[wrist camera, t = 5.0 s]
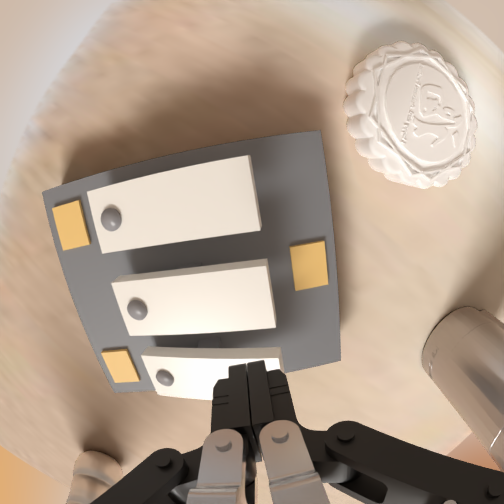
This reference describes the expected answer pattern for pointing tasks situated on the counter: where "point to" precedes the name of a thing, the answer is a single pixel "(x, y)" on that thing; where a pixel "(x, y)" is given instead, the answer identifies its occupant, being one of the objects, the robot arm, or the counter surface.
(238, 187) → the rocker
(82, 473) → the plastic bottle
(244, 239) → the switch console
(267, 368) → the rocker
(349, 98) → the mooncake
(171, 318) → the plate
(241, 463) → the robot arm
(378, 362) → the counter surface
